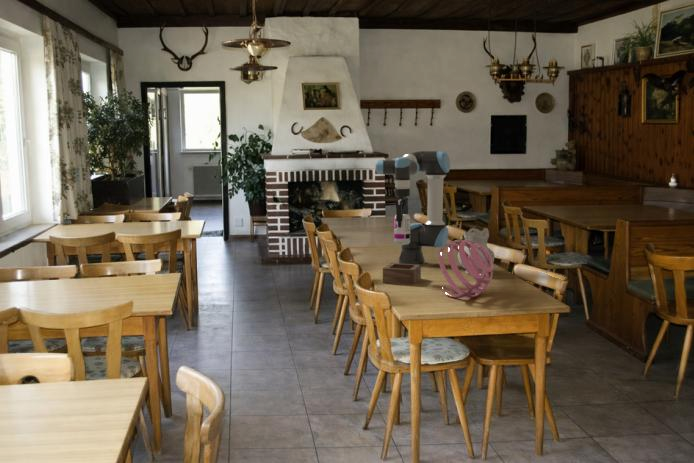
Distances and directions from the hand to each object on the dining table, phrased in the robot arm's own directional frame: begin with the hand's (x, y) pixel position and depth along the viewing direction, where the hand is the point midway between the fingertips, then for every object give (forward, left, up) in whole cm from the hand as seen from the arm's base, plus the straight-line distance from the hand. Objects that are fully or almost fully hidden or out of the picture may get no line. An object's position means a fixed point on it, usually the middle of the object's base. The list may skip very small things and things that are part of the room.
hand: (402, 232), depth 390 cm
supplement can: (0, 0, -6) cm, 6 cm away
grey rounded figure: (-31, +33, -25) cm, 52 cm away
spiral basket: (+26, +37, -25) cm, 52 cm away
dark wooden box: (0, 0, -25) cm, 25 cm away
